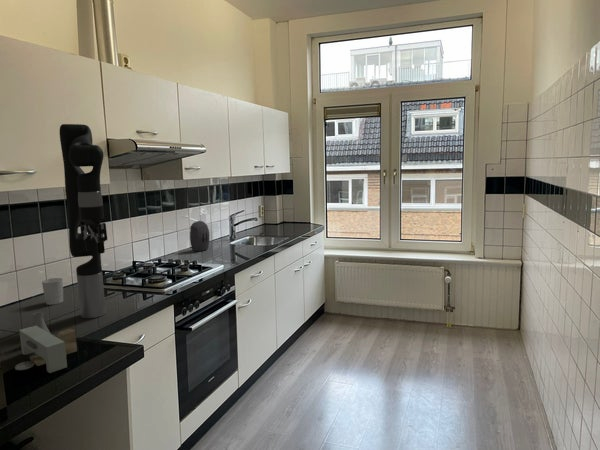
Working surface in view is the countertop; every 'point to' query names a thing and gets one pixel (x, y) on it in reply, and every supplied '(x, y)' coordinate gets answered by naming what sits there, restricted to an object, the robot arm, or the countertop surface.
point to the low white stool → (44, 347)
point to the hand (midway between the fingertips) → (95, 251)
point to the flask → (40, 321)
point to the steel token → (24, 365)
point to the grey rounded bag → (199, 236)
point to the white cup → (53, 290)
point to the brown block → (70, 345)
